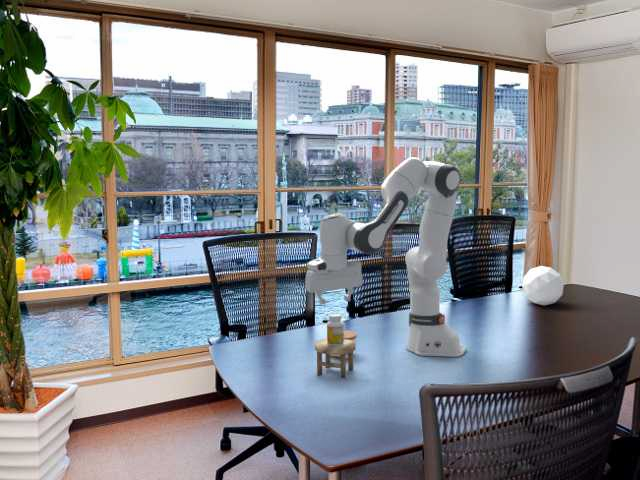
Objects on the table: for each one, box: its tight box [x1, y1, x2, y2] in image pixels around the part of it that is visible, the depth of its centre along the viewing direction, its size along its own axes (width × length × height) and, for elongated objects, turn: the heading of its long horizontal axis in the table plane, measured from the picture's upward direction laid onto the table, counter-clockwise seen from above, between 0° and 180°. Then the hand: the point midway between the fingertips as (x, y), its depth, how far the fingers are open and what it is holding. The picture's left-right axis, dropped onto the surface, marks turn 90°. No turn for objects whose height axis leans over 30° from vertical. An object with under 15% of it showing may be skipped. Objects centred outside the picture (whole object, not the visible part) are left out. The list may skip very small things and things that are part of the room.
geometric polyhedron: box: [522, 265, 565, 307], centre depth 303 cm, size 19×20×20 cm
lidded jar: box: [344, 329, 358, 356], centre depth 229 cm, size 11×11×9 cm
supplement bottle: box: [326, 313, 345, 346], centre depth 208 cm, size 6×6×10 cm
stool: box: [314, 338, 357, 380], centre depth 209 cm, size 14×14×10 cm
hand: (335, 302), depth 207 cm, fingers open, 8 cm apart
